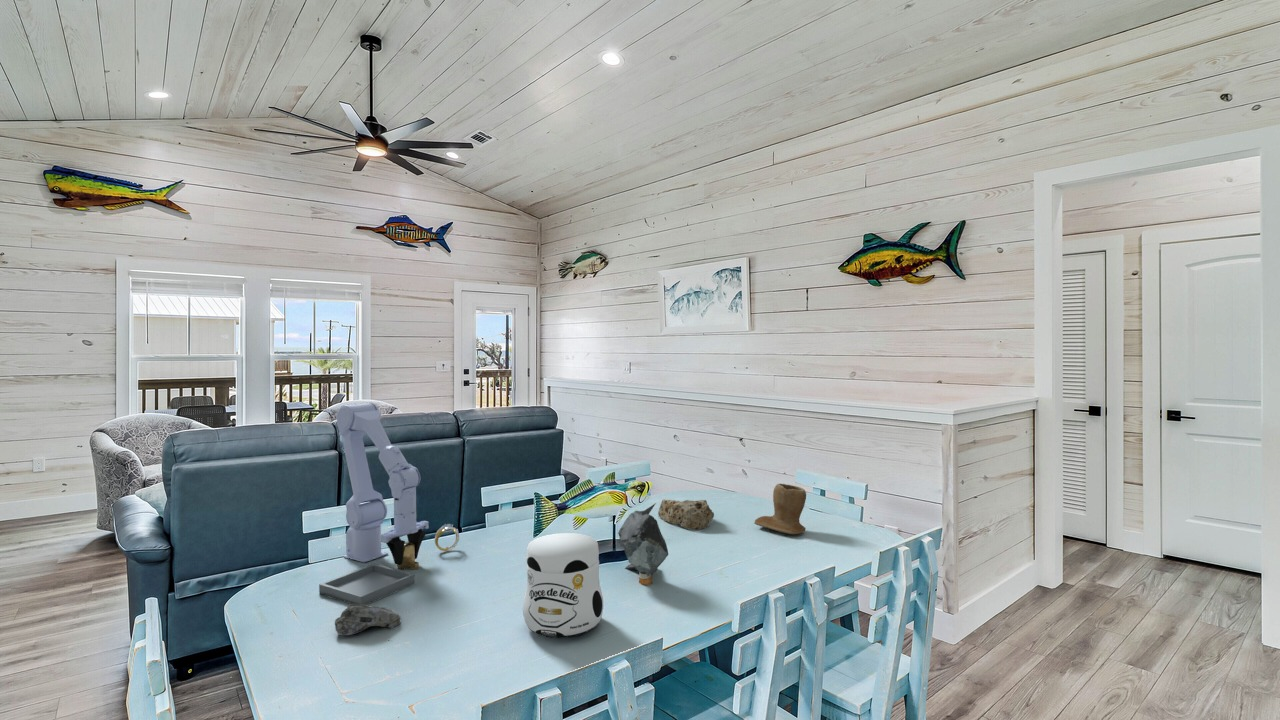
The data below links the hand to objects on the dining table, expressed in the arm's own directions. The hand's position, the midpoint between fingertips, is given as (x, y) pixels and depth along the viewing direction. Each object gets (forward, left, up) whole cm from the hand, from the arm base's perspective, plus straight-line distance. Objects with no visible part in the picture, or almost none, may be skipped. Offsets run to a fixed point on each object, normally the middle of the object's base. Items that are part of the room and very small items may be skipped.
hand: (406, 561), depth 167 cm
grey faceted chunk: (+62, +23, -2) cm, 66 cm away
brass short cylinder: (0, 0, -1) cm, 1 cm away
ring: (+1, +14, -2) cm, 14 cm away
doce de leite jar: (+59, -8, -2) cm, 60 cm away
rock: (+52, +74, -2) cm, 90 cm away
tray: (+4, -15, -1) cm, 16 cm away
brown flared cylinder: (+83, +80, -2) cm, 115 cm away
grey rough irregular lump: (+22, -29, -2) cm, 36 cm away
